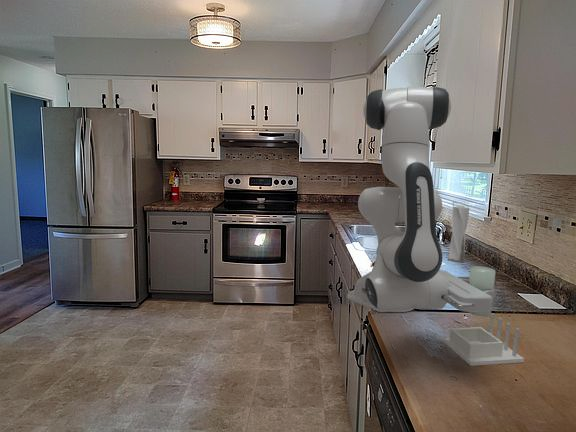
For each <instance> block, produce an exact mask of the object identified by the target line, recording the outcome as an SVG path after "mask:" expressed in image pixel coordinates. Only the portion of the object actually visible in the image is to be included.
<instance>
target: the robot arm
mask: <svg viewBox="0 0 576 432" xmlns="http://www.w3.org/2000/svg"><path fill="white" fill-rule="evenodd" d="M451 110H452V103H451V98H450V94H449V92H448V90H447V89H446V88H443V87H437V86H433V87H427V86H426V87H425V86H424V87H423V86H407V87H397V88H389V89H383V88H382V89H376V90H372V91H371V92H369V94H367V96H366V100H365V101H364V105H363V117H364V120H365V123H366V125H367V126H368V127H369V128H370V129H373V130H376V131H377V130H378V131H381V130H382V129H383V135H382V141H381V143H382V144H381V167H382V173H383V174H384V176H385V177H386V178H387V179H388V181H390V182H391V183H393V184H395V185H396V186H397V187H395V186H394V187H393V186H375V187H369V188H365V189H364V190H363V191H362V192H361V193H360V195H359V197H358V201H357V207H358V210H359V213H360V214H361V216H362V217H363V218H365V220H366V221H368V222H369V223H370V224H371V226H372V227H373V229H374V231H375V234H376V236H377V237H376V238H377V244H378V245H377V249H376V256H375V260H374V261H373V263H370V268H372V270H371V271H369V272H367V273H366V274H364V275H363V276H360V278H358V279H357V280H356V282H355V284H354V289H353V290H351V291H349V292H348V293H347V295H346V299H347V300H350V301H352V302H353V303H357V304H358V305H361V306H364V307H366V308H368V309H370V310H373V311H376V312H378V313H391V312H392V313H405V312H410V311H413V310H414V309H417V310H441V309H443V308H445V307H446V306H447V304H449V305H451V306H452V307H453V308H455V309H456V310H458V311H461V312H467V313H469V312H489V311H490V310H491V311H492V306H493V299H494V298H496V294H497V293H496V291H495V290H491V289H485V291H481V290H479V289H478V288H476V287H474V286H472V285H470V284H469V280H467V279H461V278H458V277H459V276H456V275H454V274H452V273H450V272H448V271H447V270H444V269H441V266H442V264H443V250H442V247H441V244H440V241H439V239H438V235H437V227H436V220H437V219H438V218H439V216H441V213H442V210H443V200H442V198H441V196H440V195H439V193H438V192H437V191H435V190H434V181H433V175H432V172H431V170H430V155H429V154H430V153H429V152H430V130H433V129H437V128H441V127H442V126H443V125H445V124H446V123H447V120H448V118H449V116H450V114H451ZM396 223H404V232H403V231H402V230H400V229H398V228H397V226H396ZM492 298H493V299H492Z"/></svg>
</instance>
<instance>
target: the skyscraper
mask: <svg viewBox="0 0 576 432" xmlns="http://www.w3.org/2000/svg"><path fill="white" fill-rule="evenodd" d="M455 204H456V205H457V206H454V205H455ZM451 213H452V214H451V230H452V231H451V232H452V234H451V236H450V237H451V239H450V244H449V245H450V246H449V254H448V259H447V261H450V262H456V263H461V264H463V263H465V262H467V261H468V259H467V258H465V252H466V251H465V250H466V230H467V227H468V223H469V216H470V215H469V214H470V207H469V206H468V205H463V204H458V203H457V202H456V201H453V202H452V212H451Z"/></svg>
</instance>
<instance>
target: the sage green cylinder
mask: <svg viewBox="0 0 576 432" xmlns="http://www.w3.org/2000/svg"><path fill="white" fill-rule="evenodd" d="M469 268H470V269H469V270H470V271H469V277H470V278H469V284H470V285H472V286H474V287H476V288H478V289H479V290H481V291H485V289H491V290H493V291H495V290H494V288H495V282H496V281H495V279H496V269H494V268H491V267H487V266H481V265H473V266H470V267H469ZM493 299H494V298H492V300H493ZM468 313H469V314H471V315H474V316H479V317H488V316H491V313H492V309H491V310H490V311H489V312H468Z"/></svg>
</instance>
